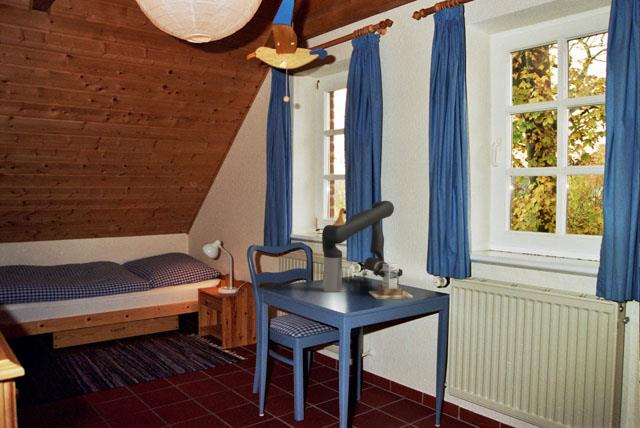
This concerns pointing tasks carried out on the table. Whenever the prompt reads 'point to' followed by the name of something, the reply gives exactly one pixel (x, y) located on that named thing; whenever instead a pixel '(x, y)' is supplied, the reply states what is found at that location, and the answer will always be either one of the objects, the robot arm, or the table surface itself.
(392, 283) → the syrup box
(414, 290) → the table surface
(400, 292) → the socket caddy
